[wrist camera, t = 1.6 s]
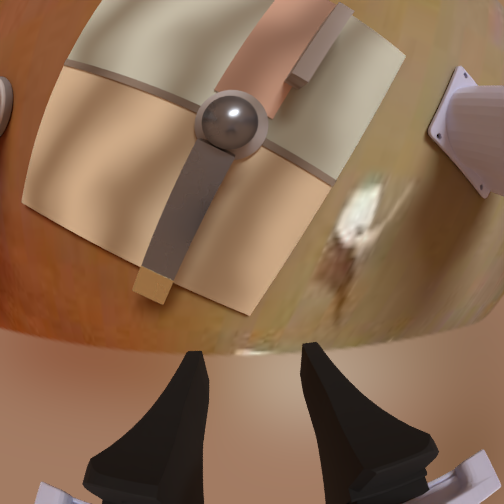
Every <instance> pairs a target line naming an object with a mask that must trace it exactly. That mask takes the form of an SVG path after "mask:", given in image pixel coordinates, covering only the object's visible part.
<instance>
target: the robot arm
mask: <svg viewBox="0 0 504 504" xmlns="http://www.w3.org/2000/svg"><path fill="white" fill-rule="evenodd" d="M464 76H465V77H464ZM428 134H429V136H430V137H431V138H432V139H433V140H434V141H435V142H436V143H437V144H438V146H439V147H440V148H441V149H442V150H443V151H444V152H445V153H446V154H447V155H448V156H449V157H450V159H451V160H452V161H453V162H454V163H455V164H456V165H457V167H458V168H459V169H460V170H461V171H462V173H463V174H464V175H465V176H466V177H467V179H468V180H469V181H470V182H471V184H472V185H473V186H474V188H475V189H476V190H477V191H478V193H479V194H480V195H481V197H482V198H487V197H488V195H489V193H490V191H491V192H494V193H496V194H499V195H501V196H504V86H478V85H477V84H476V83H475V81H474V80H473V79H472V78H471V76H470V75H469V74H468V73H467V72H466V70H465V69H464V68H463V67H462V66H457V67H456V68H455V71H454V73H453V76H452V78H451V80H450V83H449V85H448V87H447V90H446V92H445V94H444V97H443V99H442V101H441V103H440V105H439V107H438V110H437V112H436V114H435V116H434V118H433V120H432V122H431V124H430V126H429V128H428ZM437 134H438V136H439V137H438V138H437ZM300 377H301V382H302V388H303V394H304V397H305V401H306V404H307V408H308V411H309V414H310V417H311V421H312V424H313V427H314V430H315V434H316V438H317V443H318V448H319V455H320V461H321V467H322V474H323V482H324V490H325V501H326V504H479V503H480V502H482V501H483V500H485V499H486V498H487V497H489V496H490V495H491V494H493V493H494V492H495V491H496V490H498V489H499V488H500V487H501V484H500V482H499V479H498V477H497V475H496V473H495V471H494V469H493V467H492V465H491V463H490V460H489V458H488V456H487V454H486V453H485V451H484V450H480V451H479V452H477V453H476V454H474V455H473V456H471V457H470V458H468V459H466V460H465V461H463V462H462V463H461V464H459V465H458V466H457V467H456V468H455V469H454V470H452V471H450V472H449V473H447V474H445V475H443V476H441V477H439V478H437V479H435V480H433V481H431V482H429V483H427V481H426V479H425V476H426V475H427V471H426V469H425V467H426V466H428V465H429V464H430V463H431V462H432V461H433V460H434V459H435V458H436V457H437V455H438V453H439V451H438V448H437V446H436V444H435V442H434V440H433V439H432V437H431V436H430V434H428V433H425V432H423V431H421V430H418V429H416V428H414V427H411V426H409V425H408V424H406V423H404V422H402V421H400V420H398V419H397V418H395V417H394V416H392V415H390V414H389V413H387V412H385V411H384V410H382V409H381V408H380V407H378V406H377V405H376V404H374V403H373V402H372V401H371V400H369V399H368V398H367V397H366V396H364V395H363V394H362V393H361V392H360V391H359V390H358V389H357V388H356V387H355V386H354V385H353V384H352V383H351V382H349V380H348V379H347V378H346V377H345V376H344V375H343V374H342V373H341V372H340V371H339V369H338V368H337V367H336V366H335V365H334V364H333V363H332V361H331V360H330V359H329V357H328V356H327V355H326V353H325V352H324V351H323V349H322V348H321V347H320V345H319V344H318V343H317V342H313V343H305V344H303V345H302V358H301V370H300ZM208 404H209V378H208V374H207V370H206V366H205V362H204V358H203V354H202V351H188V352H187V353H186V355H185V357H184V358H183V360H182V362H181V364H180V366H179V368H178V369H177V371H176V373H175V374H174V376H173V378H172V379H171V381H170V382H169V384H168V386H167V387H166V389H165V390H164V392H163V393H162V394H161V395H160V397H159V398H158V400H157V401H156V402H155V404H154V405H153V406H152V407H151V409H150V410H149V411H148V412H147V413H146V414H145V415H144V416H143V418H142V419H141V420H140V421H139V422H138V423H137V424H136V425H135V426H134V427H133V428H132V429H131V430H129V431H128V432H127V433H126V434H125V435H124V436H123V437H121V438H120V439H119V440H117V441H116V442H115V443H114V444H112V445H111V446H110V447H108V448H107V449H105V450H104V451H102V452H101V453H99V454H98V455H96V456H94V457H92V458H91V459H90V461H89V464H88V466H87V469H86V473H85V477H84V480H83V486H84V487H85V488H86V489H87V490H89V491H90V492H91V493H93V494H94V495H96V496H98V497H99V498H101V499H102V500H103V501H102V504H204V496H203V440H204V433H205V425H206V418H207V411H208ZM35 504H91V503H87V502H85V501H82V500H79V499H76V498H74V497H72V496H71V495H70V494H68V493H66V492H64V491H62V490H60V489H58V488H56V487H54V486H51V485H49V484H47V483H45V482H41V484H40V487H39V490H38V493H37V497H36V500H35Z"/></svg>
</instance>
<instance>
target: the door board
mask: <svg viewBox="0 0 504 504" xmlns="http://www.w3.org/2000/svg"><path fill="white" fill-rule="evenodd" d="M353 12H354V11H353V10H352V9H350V8H349V7H347V6H346V5H344V4H342V3H341V2H339V3H338V4H337V5H336V4H334V3H332V2H330V1H329V0H102V2H101V3H100V5H99V6H98V8H97V9H96V10H95V12H94V14H93V15H92V17H91V18H90V20H89V21H88V23H87V25H86V26H85V28H84V30H83V31H82V33H81V35H80V36H79V38H78V40H77V42H76V44H75V45H74V47H73V49H72V51H71V53H70V55H69V57H68V59H66V61H65V63H64V67H63V69H62V71H61V73H60V75H59V78H58V80H57V82H56V85H55V87H54V89H53V92H52V94H51V97H50V99H49V102H48V104H47V107H46V110H45V113H44V115H43V118H42V121H41V124H40V127H39V130H38V134H37V137H36V140H35V144H34V147H33V151H32V155H31V159H30V163H29V167H28V171H27V176H26V181H25V186H24V191H23V197H22V203H23V204H25V205H27V206H28V207H30V208H32V209H33V210H35V211H37V212H38V213H40V214H42V215H44V216H45V217H47V218H49V219H50V220H52V221H54V222H56V223H57V224H59V225H61V226H63V227H65V228H66V229H68V230H70V231H72V232H74V233H75V234H77V235H79V236H81V237H83V238H85V239H86V240H88V241H90V242H92V243H94V244H96V245H98V246H100V247H102V248H104V249H105V250H107V251H109V252H111V253H113V254H115V255H117V256H119V257H121V258H123V259H125V260H127V261H129V262H131V263H133V264H135V265H137V266H139V267H140V266H141V265H142V262H143V259H144V257H145V254H146V251H147V249H148V246H149V244H150V241H151V239H152V236H153V234H154V231H155V229H156V226H157V224H158V222H159V219H160V217H161V214H162V212H163V210H164V208H165V205H166V203H167V201H168V198H169V196H170V194H171V192H172V190H173V187H174V185H175V183H176V181H177V179H178V177H179V175H180V172H181V170H182V168H183V166H184V164H185V162H186V160H187V158H188V156H189V154H190V152H191V150H192V148H193V146H194V144H195V142H196V140H197V139H201V138H203V139H205V140H207V141H208V139H207V138H206V137H205V135H204V133H203V130H202V116H203V113H204V111H205V109H206V108H207V107H208V105H209V104H210V103H211V102H213V101H214V100H216V99H218V98H220V97H223V96H238V97H241V98H243V99H245V100H247V101H248V102H249V103H250V104H251V105H252V106H253V107H254V109H255V110H256V113H257V116H258V129H257V132H256V134H255V136H254V137H253V138H252V140H251V141H250V142H249V143H247V144H246V145H244V146H242V147H240V148H237V149H225V150H227V151H229V152H231V153H233V154H235V159H234V161H233V162H232V164H231V166H230V168H229V170H228V172H227V173H226V175H225V177H224V179H223V181H222V183H221V185H220V187H219V189H218V191H217V192H216V194H215V196H214V198H213V200H212V202H211V204H210V206H209V208H208V210H207V212H206V214H205V216H204V218H203V220H202V222H201V224H200V226H199V228H198V230H197V232H196V234H195V236H194V238H193V240H192V242H191V244H190V247H189V249H188V251H187V253H186V255H185V257H184V259H183V261H182V264H181V266H180V268H179V270H178V272H177V274H176V277H175V279H174V282H173V283H175V284H177V285H179V286H182V287H184V288H186V289H188V290H190V291H193V292H195V293H197V294H199V295H202V296H204V297H206V298H208V299H211V300H213V301H215V302H218V303H220V304H222V305H225V306H227V307H230V308H232V309H234V310H237V311H239V312H242V313H244V314H246V315H249V316H250V315H251V313H252V312H253V310H254V309H255V307H256V306H257V304H258V303H259V301H260V300H261V298H262V297H263V295H264V294H265V292H266V291H267V289H268V288H269V286H270V285H271V283H272V282H273V280H274V278H275V277H276V275H277V274H278V272H279V271H280V269H281V268H282V266H283V265H284V263H285V261H286V260H287V258H288V257H289V255H290V254H291V252H292V251H293V249H294V247H295V246H296V244H297V243H298V241H299V239H300V238H301V236H302V235H303V233H304V232H305V230H306V228H307V227H308V225H309V224H310V222H311V220H312V219H313V217H314V215H315V214H316V212H317V211H318V209H319V207H320V206H321V204H322V202H323V201H324V199H325V198H326V196H327V194H328V193H329V191H330V189H331V188H332V187H333V185H334V184H335V182H336V179H337V178H338V176H339V174H340V173H341V171H342V169H343V168H344V166H345V164H346V163H347V161H348V159H349V157H350V156H351V154H352V152H353V151H354V149H355V147H356V146H357V144H358V142H359V140H360V139H361V137H362V135H363V133H364V132H365V130H366V128H367V126H368V125H369V123H370V121H371V119H372V118H373V116H374V114H375V112H376V110H377V109H378V107H379V105H380V103H381V101H382V100H383V98H384V96H385V94H386V92H387V91H388V89H389V87H390V85H391V83H392V81H393V80H394V78H395V76H396V74H397V72H398V70H399V68H400V66H401V65H402V63H403V61H404V59H405V57H406V55H404V54H403V53H402V52H401V51H400V50H398V49H397V48H396V47H395V46H394V45H392V44H391V43H390V42H389V41H387V40H386V39H385V38H383V37H382V36H381V35H379V34H378V33H377V32H375V31H374V30H373V29H371V28H370V27H368V26H367V25H366V24H364V23H363V22H361V21H360V20H358V19H357V18H355V17H354V16H352V14H353Z"/></svg>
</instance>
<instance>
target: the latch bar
mask: <svg viewBox="0 0 504 504" xmlns="http://www.w3.org/2000/svg"><path fill="white" fill-rule="evenodd" d="M257 129H258V116H257V113H256V110H255V109H254V107H253V106H252V105H251V104H250V103H249V102H248V101H247V100H245V99H243V98H241V97H238V96H223V97H220V98H218V99H216V100H214V101H213V102H211V103H210V104H209V105H208V107H207V108H206V109H205V111H204V113H203V116H202V130H203V133H204V135H205V137H206V138H207V139H208V141H207V140H205V139H203V138H201V139H197V140H196V142H195V144H194V146H193V148H192V150H191V152H190V154H189V156H188V158H187V160H186V162H185V164H184V166H183V168H182V170H181V172H180V175H179V177H178V179H177V181H176V183H175V185H174V187H173V190H172V192H171V194H170V196H169V198H168V201H167V203H166V205H165V208H164V210H163V212H162V214H161V217H160V219H159V222H158V224H157V226H156V229H155V231H154V234H153V236H152V239H151V241H150V244H149V246H148V249H147V251H146V254H145V257H144V259H143V262H142V265H141V266H140V269H139V272H138V275H137V277H136V280H135V283H134V286H133V289H132V291H134V292H136V293H138V294H141V295H143V296H145V297H147V298H149V299H151V300H153V301H155V302H158V303H160V304H162V305H163V304H164V302H165V300H166V297H167V295H168V293H169V291H170V288H171V286H172V284H173V282H174V279H175V277H176V274H177V272H178V270H179V268H180V266H181V264H182V261H183V259H184V257H185V255H186V253H187V251H188V249H189V247H190V244H191V242H192V240H193V238H194V236H195V234H196V232H197V230H198V228H199V226H200V224H201V222H202V220H203V218H204V216H205V214H206V212H207V210H208V208H209V206H210V204H211V202H212V200H213V198H214V196H215V194H216V192H217V191H218V189H219V187H220V185H221V183H222V181H223V179H224V177H225V175H226V173H227V172H228V170H229V168H230V166H231V164H232V162H233V161H234V159H235V154H233V153H231V152H229V151H227V150H225V149H237V148H240V147H242V146H244V145H246V144H247V143H249V142H250V141H251V140H252V138H253V137H254V136H255V134H256V132H257Z"/></svg>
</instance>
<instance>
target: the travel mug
mask: <svg viewBox="0 0 504 504" xmlns="http://www.w3.org/2000/svg"><path fill="white" fill-rule="evenodd" d="M12 103H13V92H12V87H11V84H10V82H9V81H8V80H7V79H6V78H5V77H0V136H1V135H2V134H3V132H4V130H5V128H6V126H7V124H8V121H9V118H10V115H11V110H12Z"/></svg>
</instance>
